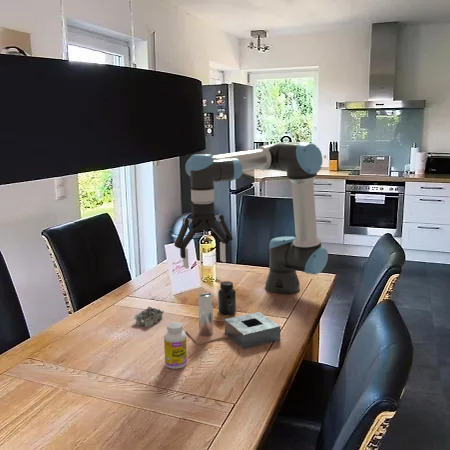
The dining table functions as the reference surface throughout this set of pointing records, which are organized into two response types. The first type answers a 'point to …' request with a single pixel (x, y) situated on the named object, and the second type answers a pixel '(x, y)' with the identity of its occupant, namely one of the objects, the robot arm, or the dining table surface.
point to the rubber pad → (204, 339)
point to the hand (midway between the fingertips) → (204, 264)
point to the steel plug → (205, 314)
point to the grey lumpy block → (153, 317)
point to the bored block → (252, 330)
